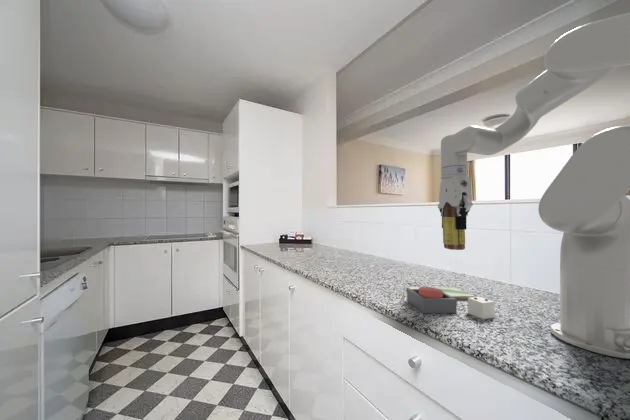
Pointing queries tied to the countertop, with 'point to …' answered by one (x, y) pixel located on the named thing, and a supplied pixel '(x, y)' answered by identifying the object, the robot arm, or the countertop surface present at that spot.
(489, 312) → the die
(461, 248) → the sauce bottle
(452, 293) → the board
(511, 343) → the countertop surface
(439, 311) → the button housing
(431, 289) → the dome button
